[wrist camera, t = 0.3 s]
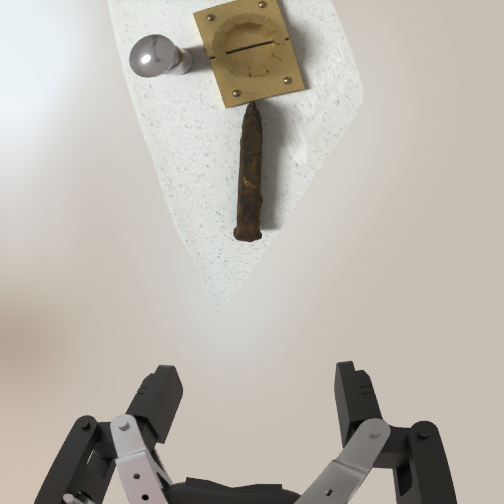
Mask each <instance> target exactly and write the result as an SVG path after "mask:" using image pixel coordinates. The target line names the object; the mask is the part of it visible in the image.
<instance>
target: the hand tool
mask: <svg viewBox="0 0 504 504" xmlns="http://www.w3.org/2000/svg"><path fill="white" fill-rule="evenodd" d="M240 147H241V149H240V168H239V179H238V203H237V227H236V228H235V229H234V233H233V235H234V237H235V239H237V240H240V241H247V242H253V241H255V240H258V239H261V238H262V233H261V232H260V229H259V225H260V220H259V215H260V209H261V203H262V196H261V193H260V184H261V157H262V125H261V118H260V115H259V111H258V110H257V107H256V104H255V101H252V102H251V103H250V104H249V105H248V106H247V109H246V113H245V115H244V119H243V124H242V136H241V139H240Z"/></svg>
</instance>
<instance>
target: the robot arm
mask: <svg viewBox="0 0 504 504" xmlns="http://www.w3.org/2000/svg"><path fill="white" fill-rule="evenodd" d="M334 391H335V399H336V405H337V412H338V418H339V424H340V431H341V438H342V446H343V448H344V449H343V450H342V452H341V453H340V454H339V456H338V457H337V458H336V459H335V460H333V461H331V462H330V463H329V464H328V466H327V467H326V468H325V469H324V471H323V472H322V473H321V474H320V475H319V477H318V478H317V479H316V480H315V481H314V482H313V484H312V485H311V486H310V487H309V488H308V489H307V490H306V491H305V492H304V493H303V494H302V495H299V494H298V493H295V492H292V491H289V490H285V489H282V484H255V485H249V486H242V487H235V488H231V487H227V486H224V485H221V484H218V483H215V482H212V481H209V480H202V479H195V478H189V477H187V478H186V482H182V483H176V484H173V482H172V481H171V479H170V478H169V476H168V474H167V472H166V470H165V468H164V466H163V464H162V462H161V460H160V457H159V455H158V453H157V451H156V449H155V444H156V442H157V443H162V444H164V443H165V440H166V438H167V435H168V432H169V430H170V427H171V425H172V422H173V419H174V417H175V414H176V411H177V409H178V406H179V404H180V401H181V398H182V395H183V387H182V384H181V381H180V379H179V376H178V374H177V371H176V368H175V367H174V366H170V365H159V366H158V368H157V370H156V371H155V373H154V374H152V373H151V374H150V375H148V376H147V377H146V378H145V379H144V380H143V382H142V384H141V386H140V388H139V389H138V391H137V394H136V395H135V397H134V399H133V400H132V402H131V404H130V406H129V408H128V410H127V412H126V413H125V414H123V415H119V416H117V417H115V418H114V419H113V420H112V422H97V421H96V420H95V418H94V417H92V416H89V415H87V416H82V417H80V418H79V419H77V420H76V422H75V424H74V425H73V427H72V429H71V431H70V432H69V435H68V436H67V438H66V440H65V442H64V444H63V445H62V447H61V449H60V451H59V453H58V455H57V457H56V458H55V460H54V463H53V464H52V466H51V468H50V470H49V472H48V474H47V476H46V478H45V480H44V482H43V485H42V487H41V489H40V491H39V493H38V495H37V498H36V499H35V502H34V504H102V502H103V499H104V496H105V493H106V491H107V488H108V486H109V483H110V480H111V477H112V474H113V472H114V470H115V467H116V466H117V469H118V472H119V475H120V479H121V482H122V485H123V488H124V490H125V493H126V496H127V498H128V501H129V504H348V502H349V501H350V500H351V498H352V497H353V495H354V494H355V493H356V491H357V490H358V488H359V487H360V486H361V484H362V483H363V481H364V480H365V478H366V477H367V475H368V474H369V472H370V471H371V469H372V468H373V467H375V468H391V469H393V476H394V484H395V491H396V501H397V504H457V500H456V495H455V491H454V486H453V481H452V478H451V473H450V469H449V465H448V462H447V458H446V454H445V451H444V447H443V444H442V441H441V438H440V434H439V431H438V428H437V427H436V425H434V424H433V423H432V422H429V421H419V422H417V423H415V424H414V425H413V426H412V427H411V428H402V427H393V426H391V425H389V424H387V423H386V422H385V421H384V420H383V418H382V416H381V412H380V409H379V405H378V402H377V399H376V395H375V393H374V389H373V386H372V382H371V379H370V377H369V375H368V374H367V373H366V372H365V371H364V370H359V371H355V368H354V365H353V362H352V361H347V362H339V363H337V364H336V374H335V384H334ZM92 451H93V453H92ZM91 453H92V455H91ZM90 455H91V457H90ZM89 457H90V460H89V462H88V459H89ZM87 462H88V464H87Z"/></svg>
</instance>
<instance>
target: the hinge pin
mask: <svg viewBox="0 0 504 504" xmlns="http://www.w3.org/2000/svg"><path fill="white" fill-rule="evenodd" d="M129 62H130V66H131V68H132V70H133V71H134V72H135V73H136V74H137V75H139V76H142V77H157V76H159V75H162V74H169V75H182V74H185V73H186V72H188V71H189V70H190V69H191V67H192V65H193V57H192V55H191V54H190V53H189V52H188V51H186V50H184V49H182V48H179V47H177V46H175V45H174V44H173V42H172V41H171V40H170V39H168V38H167V37H165V36H162V35H149V36H146V37H144V38H142V39H141V40H139V41H138V42H137V43H136V44H135V45H134V47H133V48H132V50H131V53H130V58H129Z"/></svg>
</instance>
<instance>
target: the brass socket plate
mask: <svg viewBox="0 0 504 504" xmlns="http://www.w3.org/2000/svg"><path fill="white" fill-rule="evenodd" d="M193 15H194V18H195V21H196V23H197V26H198V29H199V32H200V35H201V38H202V40H203V43H204V46H205V49H206V52H207V55H208V57H209V58H211V57H214V56H215V58H214V59H211V60H210V63H211V66H212V69H213V72H214V75H215V78H216V81H217V84H218V87H219V90H220V93H221V96H222V99H223V102H224V105H225V108H229V107H232V106H236V105H239V104H243V103H246V102H250V101H254V100H258V99H262V98H266V97H270V96H274V95H278V94H283V93H287V92H292V91H297V90H302V89H305V88H304V84H303V81H302V77H301V74H300V70H299V67H298V63H297V60H296V57H295V53H294V50H293V47H292V44H291V41H290V40H285V39H287V38H289V35H288V32H287V29H286V26H285V23H284V20H283V17H282V14H281V12H280V9H279V6H278V4H277V1H276V0H236V1H232V2H228V3H225V4H221V5H218V6H214V7H211V8H208V9H205V10H202V11H199V12H196V13H193ZM271 41H272V43H271V44H266V45H262V46H258V47H253V48H249V49H245V50H242V51H238V52H234V53H231V54H227V53H228V52H231V51H235V50H238V49H242V48H246V47H250V46H254V45H258V44H262V43H267V42H271Z"/></svg>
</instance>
